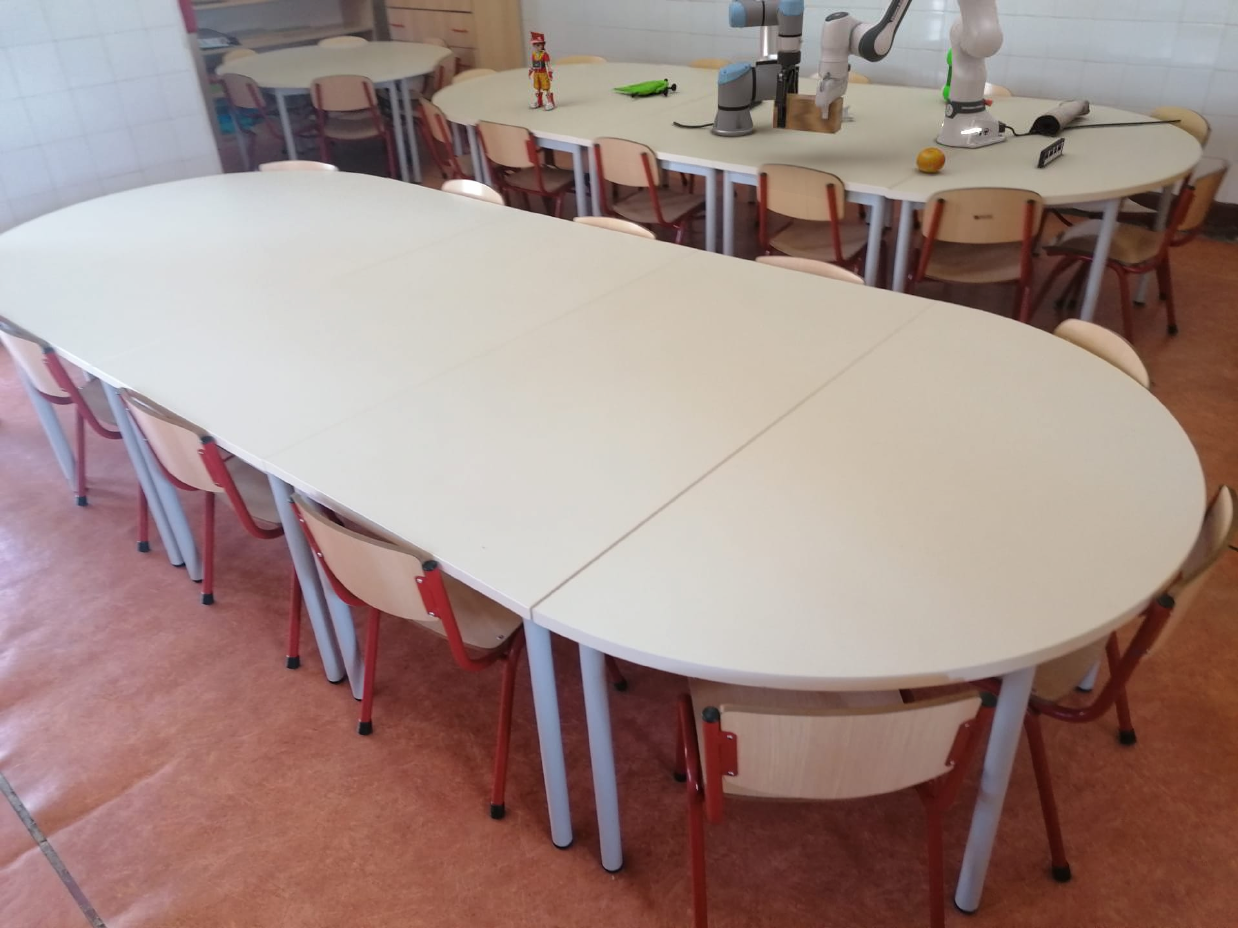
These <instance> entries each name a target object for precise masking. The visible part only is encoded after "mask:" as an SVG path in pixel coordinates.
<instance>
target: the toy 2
mask: <svg viewBox="0 0 1238 928" xmlns="http://www.w3.org/2000/svg"><path fill="white" fill-rule="evenodd" d="M669 85H670V83H669V79H668V78H664V79H663V80H649V81H644V82H640V83H634V84H629V85H627V86H621V87H613V88H612V89H613V90H616V91H619V92H623V93H627V94H628V93H629V94H631V95H630V96H631V98H632V99H634V98H636V96H637V95H650V94H652V93H654V94H658V93H662V95H663V96H665V97H667V96H668V95H669V90H671V91H672V92H676V91H677V84H676V83H672V84H671V86H669Z"/></svg>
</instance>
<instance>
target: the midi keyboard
mask: <svg viewBox="0 0 1238 928" xmlns="http://www.w3.org/2000/svg"><path fill="white" fill-rule="evenodd" d="M1065 141H1066V138H1065V137H1061V138H1059V139H1057V140H1056V141H1054V142H1053V143H1051V144H1050V145H1048V146H1046V147H1045V148H1043V149H1042V150H1041V151H1040V153H1039V158H1038V162H1037V168H1043V167H1044V166H1045V165H1047V164H1048V163H1049V162H1051V161H1053V160H1054V159H1055V158H1057V157H1058V156H1060V155H1062V154H1063V149H1064V145H1065Z"/></svg>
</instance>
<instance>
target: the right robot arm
mask: <svg viewBox="0 0 1238 928" xmlns="http://www.w3.org/2000/svg"><path fill="white" fill-rule="evenodd" d="M912 1H913V0H889V1H888V3H887V5H886V7H885V9H884V11H883V12H882V15H881V17H880V19H879V20H878V21H877V22H876V23H873V24H872V23H869V22H866V21H862V20H859V19H857V18H855V17H853V16H852V15H851V14H850V13H849V12H847V11H837V12H832V13H830V14H829V15H827V16H826V17H825V18H824V21H823V24H822V29H821V35H820V50H821V51H820V56H819V61H818V63H819V64H818V77H819V78H821V79H820V80H819V81H818V82H817V85H816V89H815V95H816V98H815V105H816V107H821V109H822V118H823V119H827V118H828V117H829V112H828V108H829V104H831V103H832V102H833V101H834V100H835V99H837V98H838V97H844V95H846V92H847V90H848V83H849V76H850V72H851V70H852V64H851V63H849V56H851V55H852V56H855V57H858V58H862V59H863V60H866V61H868V62H870V63H877V62H880V61H882V60H884V59H885V58H886V57H887V56H888V55H889V53H890V51H891V50H892V47H893V44H894V42H895V41H894V40H895V37H896V35H897V32H898V30H899V27H900V25H901V24H902V22H903V20H904V18H905V16H906V13H907V12H908V10H909V8H910V6H911V4H912ZM957 5H958V7H959V11H960V17H958V18H956V19H955V20H954V21H953V22H952V24H951V25H950V28H949V41H950V46H951V48H952V77H951V84H950V91H949V97H948V98H947V101H946V102H945V110H944V113H945V115H944V119H943V123H942V126H941V130H940V132H939V135H938V137H937V139H936V141H937V142H938V143H939V144H941V145H943V146H950V147H959V148H960V147H961V148H971V149H977V148H980V147H985V146H988V145H993V144H997V143H1001V142H1005V140H1006V138H1005V136H1004V135H1003V133H1006V129H1009V130H1010V131H1011V132H1012V134H1013V136H1016V137H1023V136H1029V135H1032V134H1039V133H1041V132H1040V131H1033V132H1029V131H1028V132H1026V133H1022V134H1020V133H1016V131H1015V128H1013V127H1012V126H1009V125H1007V124H1006V123H1004V122H1003V121H1001V120H998V119H997V118H996V117H994V116H993V115H992V114H991V113H990V112H989V111H988V110H987V107H992V106H993V104H994V101H993V100H992V99H990V98H987V99H986V98H984V93H985V88H986V83H987V77H988V74H987V69H986V68H987V67H986V58H991V57H992V56H994V55H995V54H997V52H998V51H999V50H1000V49H1001V47H1002V46H1003V42H1004V33H1003V31H1002V28H1001V25H1000V20H999V14H998V8H997V1H996V0H957ZM986 106H987V107H986ZM1181 122H1182V119H1170V120H1156V121H1137V122H1135V121H1134V122H1114V123H1113V122H1111V123H1094V124H1080V125H1069V126H1065V127H1064V128H1063V129H1062V130H1068V129H1080V128H1081V129H1082V128H1093V127H1110V126H1132V125H1133V126H1135V125H1153V124H1154V125H1155V124H1170V123H1181Z"/></svg>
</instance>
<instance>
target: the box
mask: <svg viewBox="0 0 1238 928" xmlns="http://www.w3.org/2000/svg"><path fill="white" fill-rule="evenodd" d="M815 98H816V94H805V93H798V94H793V93H787V99H786V105H785V107H786V125H785V128H780V127H777V114H778V107H775V100H776V96H775V97H774V100H773V109H772V111H773V113H772V129H775V130H786V131H799V132H808V133H809V132H810V133H820V134H829V135H836V134H837V133H838V132H839V131H841V130H842V121H843V120H842V111H843V107H844V96H841V97H838V98H837V99H835V100H834V101H833V102H832V103H831V104H829V108H828V112H829V117H828V118H827V119H823V118H822V109H821V107H816V105H815Z"/></svg>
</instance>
